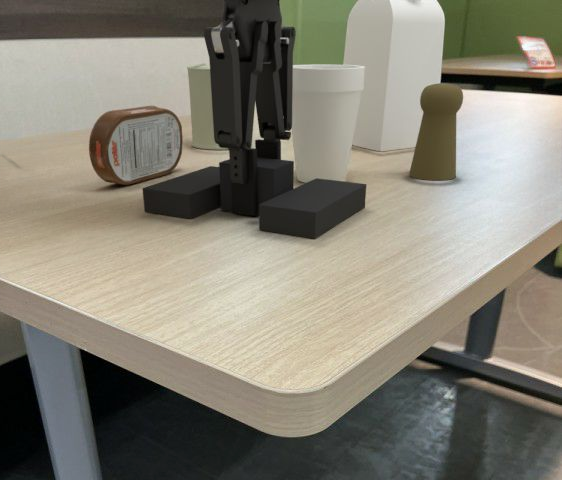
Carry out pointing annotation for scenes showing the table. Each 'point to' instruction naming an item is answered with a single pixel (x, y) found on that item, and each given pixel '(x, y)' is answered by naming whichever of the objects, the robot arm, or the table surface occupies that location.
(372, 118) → the milk
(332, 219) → the pad pair
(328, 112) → the foam cup
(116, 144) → the tin
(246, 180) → the robot arm
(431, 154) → the olive knobbed tapered post
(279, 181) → the black rectangular block
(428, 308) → the table surface
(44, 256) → the table surface
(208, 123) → the can
